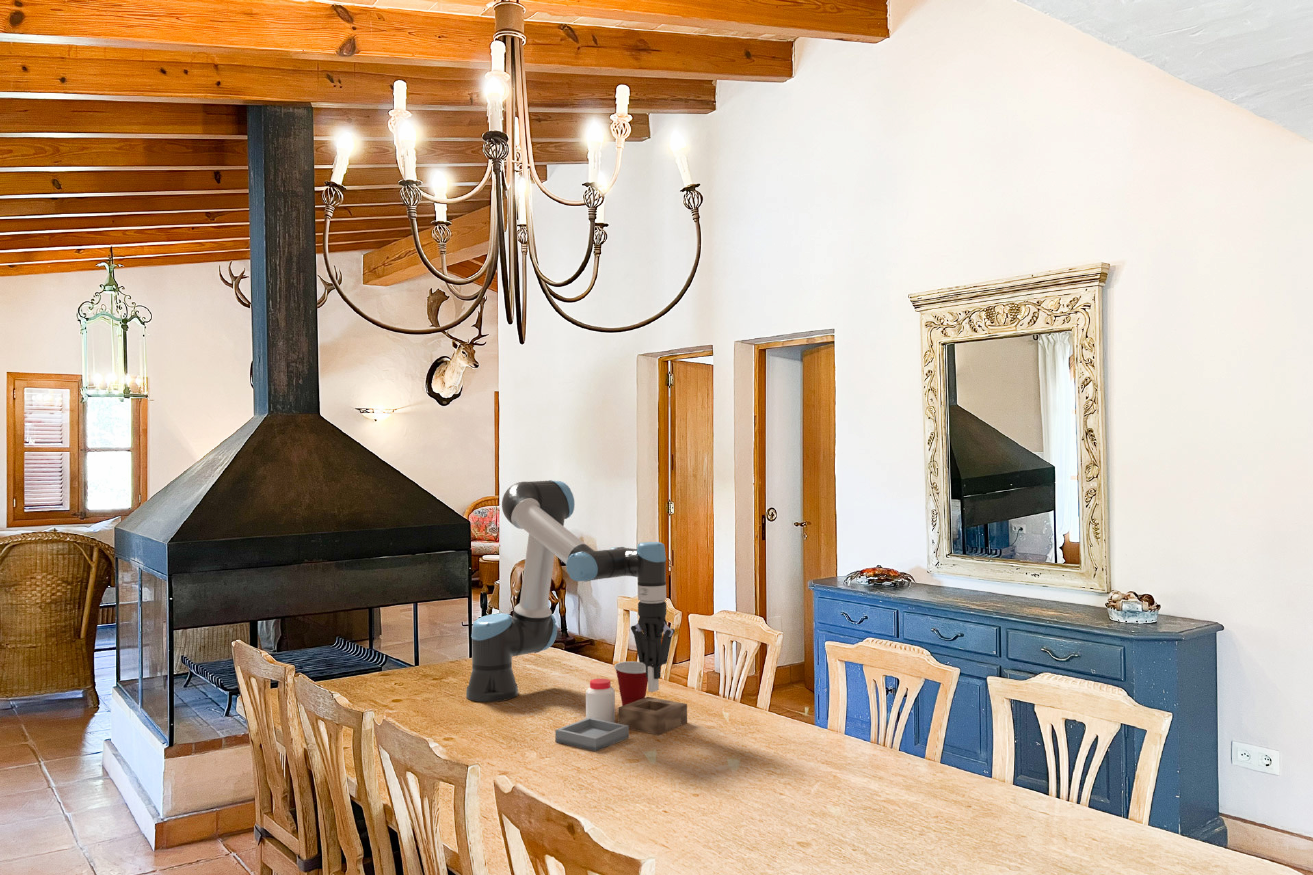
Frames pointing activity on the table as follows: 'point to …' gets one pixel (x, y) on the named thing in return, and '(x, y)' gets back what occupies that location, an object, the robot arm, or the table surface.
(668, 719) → the cinder block
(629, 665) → the plastic cup
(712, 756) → the table surface
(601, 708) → the pill bottle
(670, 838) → the table surface
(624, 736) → the tray
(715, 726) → the table surface
